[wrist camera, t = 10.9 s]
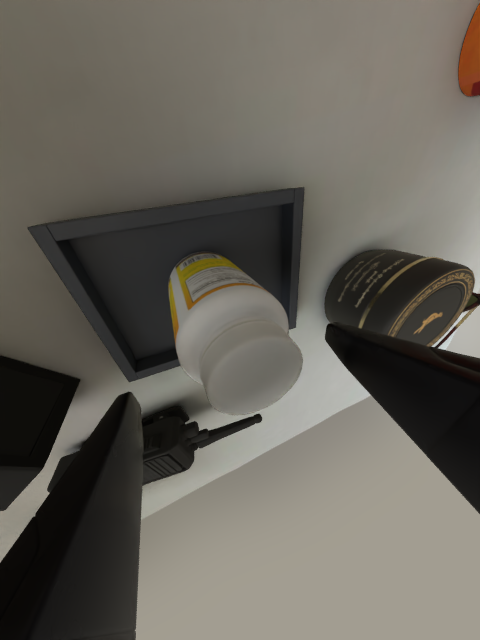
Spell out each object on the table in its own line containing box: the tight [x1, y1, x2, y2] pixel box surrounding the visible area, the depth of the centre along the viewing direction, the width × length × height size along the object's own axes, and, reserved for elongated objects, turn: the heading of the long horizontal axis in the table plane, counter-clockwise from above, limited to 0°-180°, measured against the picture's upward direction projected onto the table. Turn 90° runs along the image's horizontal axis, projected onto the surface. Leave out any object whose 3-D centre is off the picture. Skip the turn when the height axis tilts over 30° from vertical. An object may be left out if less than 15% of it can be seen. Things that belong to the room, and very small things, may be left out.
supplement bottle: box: [168, 252, 303, 415], centre depth 11 cm, size 6×6×10 cm
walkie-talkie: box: [47, 406, 262, 492], centre depth 20 cm, size 6×6×20 cm
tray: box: [28, 187, 304, 382], centre depth 15 cm, size 16×12×2 cm
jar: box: [325, 250, 475, 346], centre depth 20 cm, size 10×10×8 cm
